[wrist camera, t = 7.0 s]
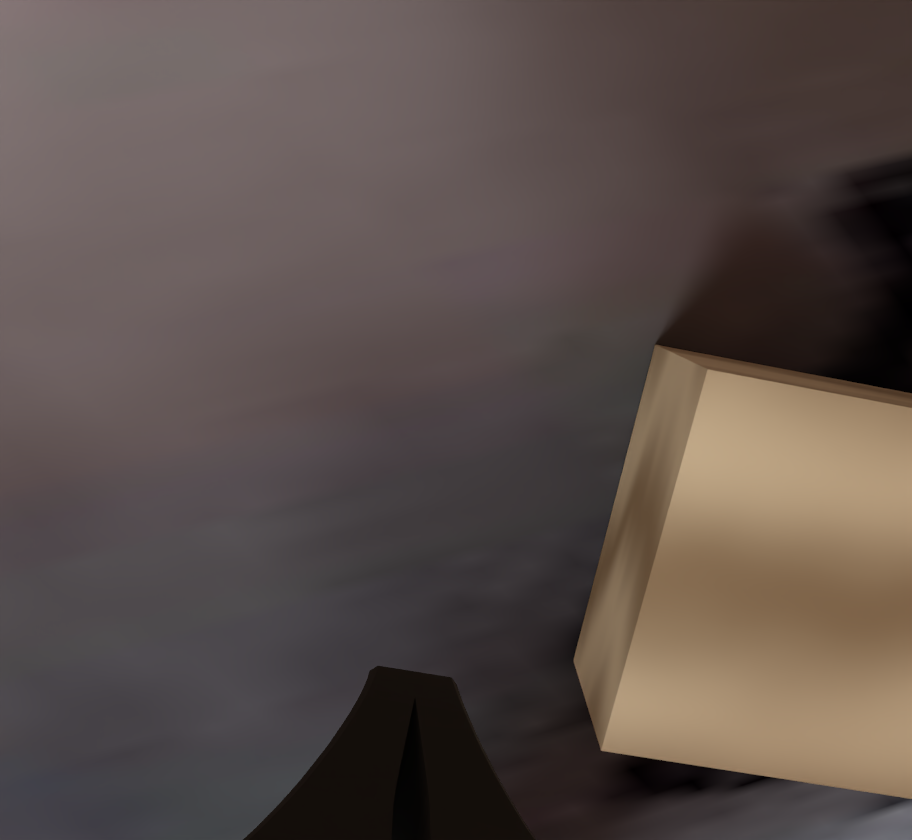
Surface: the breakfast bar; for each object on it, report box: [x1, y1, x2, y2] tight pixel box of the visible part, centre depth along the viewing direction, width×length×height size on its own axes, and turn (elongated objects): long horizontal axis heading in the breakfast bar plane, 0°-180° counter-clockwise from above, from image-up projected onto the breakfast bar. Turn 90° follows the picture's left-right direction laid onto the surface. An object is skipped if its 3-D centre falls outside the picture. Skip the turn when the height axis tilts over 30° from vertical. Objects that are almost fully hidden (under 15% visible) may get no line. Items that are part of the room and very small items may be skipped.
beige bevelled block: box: [573, 345, 912, 799], centre depth 19 cm, size 10×9×4 cm
